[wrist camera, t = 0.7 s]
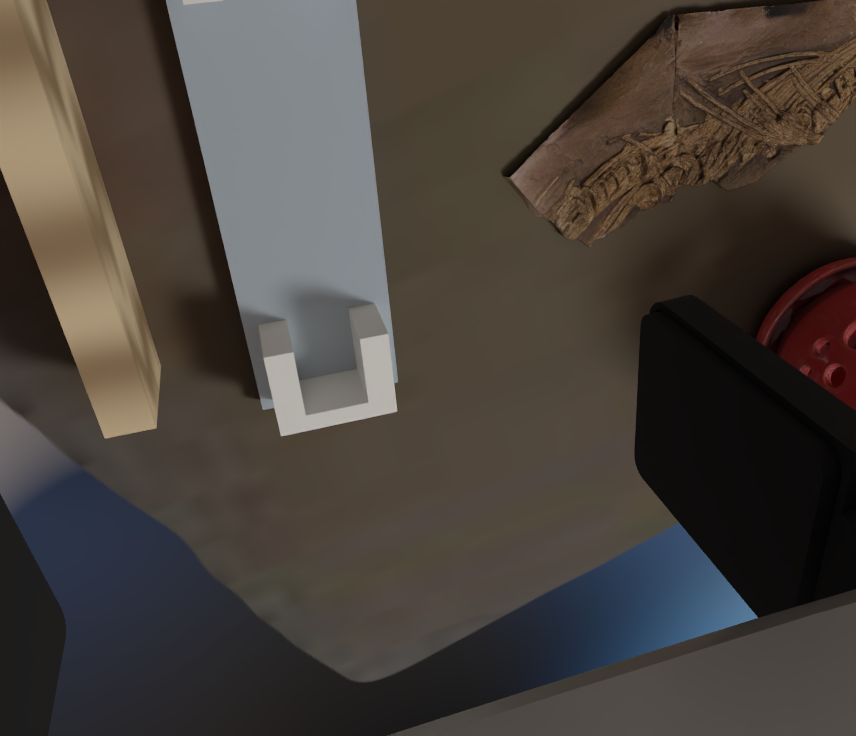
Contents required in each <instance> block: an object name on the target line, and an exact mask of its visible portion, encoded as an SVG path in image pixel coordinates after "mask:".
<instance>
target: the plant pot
mask: <svg viewBox="0 0 856 736" xmlns="http://www.w3.org/2000/svg"><path fill="white" fill-rule="evenodd" d="M756 340H757V341H759V342H760V343H761V344H763V345H764V346H766V347H767V348H768V349H770V350H771V351H773V352H774V353H775V354H777V355H778V356H780V357H781V358H782V359H784V360H785V361H787V362H788V363H789V364H791V365H792V366H794V367H795V368H796V369H798V370H799V371H801V372H802V373H803V374H805V375H806V376H808V377H809V378H810V379H812V380H813V381H815V382H816V383H817V384H819V385H820V386H822V387H823V388H824V389H826V390H827V391H829V392H830V393H831V394H833V395H834V396H836V397H837V398H838V399H840V400H841V401H843V402H844V403H845V404H847V405H848V406H850V407H851V408H852V409H854V410H855V411H856V257H853V258H847V259H842V260H838V261H835V262H832V263H829V264H827V265H824V266H822V267H820V268H818V269H816V270H814V271H813V272H811V273H809V274H808V275H806V276H805V277H803V278H802V279H800V280H799V281H798V282H796V283H795V284H794V285H793V286H791V287H790V288H789V289H788V290H787V291H786V292H785V293H784V294H783V295H782V296H781V297H780V298H779V299H778V301H777V302H776V303H775V304H774V306H773V307H772V308H771V310H770V311H769V312H768V314H767V315H766V317H765V319H764V321H763V323H762V325H761V327H760V329H759V332H758V335H757V338H756Z"/></svg>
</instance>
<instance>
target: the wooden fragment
mask: <svg viewBox="0 0 856 736" xmlns="http://www.w3.org/2000/svg"><path fill="white" fill-rule="evenodd" d="M676 16H677V17H679V21H678V22H679V25H678V29H679V30H675V28H674V25H675V22H677V21H676V20H674V19H675V15H674V14H673V15H670V16H668V17H667V18H666V20H665V21H664V22H663V23H662V24H661V25H660V27H659V29H658V30H657V33H656V34H654V35H653V36H652V37H650V38H649V39H648V40H647V41H646V42H645V43H644V44H643V45H642V46H641V47H640V48H639V49H638V51H637V52H636V53H634V54H633V55H632V56H631V58H629V59H628V60H627V61H626V62H625V63H624V64H623V65H622V66H621V67H620V68H619V69H618V70H617V71H616V72H615V73H614V74H613V75H612V77H610V78H609V79H608V80H607V81H606V82H605V83H604V84H603V85H602V86H601V87H600V88H599V89H598V90H597V91H596V92H595V93H594V94H593V95H592V96H591V97H590V98H589V99H587V100H586V101H585V102H584V103H583V104H582V105H581V106H580V107H579V108H578V109H577V110H576V111H575V112H574V113H573V114H572V115H571V116H570V118H568V119H567V120H566V121H565V122H564V123H563V124H562V125H561V126H560V127H559V128H558V130H556V131H555V132H553V133H552V134H551V135H550V136H549V138H548V140H545V141H544V143H542V144H541V145H540V146H539V147H538V149H537V150H536V151H535V152H534V153H533V154H532V155H531V156H530V157H529V158H528V159H527V160H526V161H525V163H524V164H523V165H522V166H521V167H520V168H519V169H518V170H517V171H516V172H515V173H514V174H513V175H512V176H511V177H504V176H503V177H504V178H505V179H506V180H508V181H509V182H510V184H511V185H512V186H513V188H514V189H515V190H516V191H517V192H518V194H519V195H520V196H521V197H522V199H523V200H524V201H525V203H526V205H527V207H528V208H529V210H530V211H531V212H532V213H533V214H534V215H535V216H537V217H539V218H542V219H546V220H550V221H551V222H552V223H553V224H554V225H555V226H556V227H557V228H558V229H559V231H560V233H561V235H562V236H564V237H566V238H568V239H570V240H575V239H579V240H581V241H582V242H583V243H584V244H586V245H587V246H588V247H591V245H592V243H593V241H594V240H595V239H598V238H603V237H605V236H606V234H608V233H610V232H612V231H614V230H615V229H618V228H621V227H622V226H624V225H625V224H627V223H629V222H630V221H631V220H633V219H634V218H635V215H636V212H637V211H640V210H644V211H645V210H646V209H647V208H649V209H653V208H654V207H656V206H658V205H659V204H661V203H663V202H671V201H672V200H673V199H674V194H675V192H676V190H677V186H685V185H687V184H689V185H693V186H699V185H702V184H708V183H710V182H711V181H713V182H715V183H717V184H718V185H720V186H721V187H723V188H724V189H726V190H731V189H735V188H740V187H742V186H745V185H747V184H750V183H754V182H756V181H757V180H758V178H759V177H761V176H762V175H763V174H764V173H765V172H766V171H767V170H769V169H771V168H773V167H774V165H775V164H776V163H777V162H779V161H782V160H783V159H785V157H786V156H787V155H788V153H792V152H794V151H795V150H796V149H797V148H799V147H800V146H802V145H804V144H810V145H814V144H819V142H820V141H821V139H822V138H823V137H824V134H825V132H826V130H827V129H828V127H829V126H831V125H832V124H833V123H834V122H835V121H836V120H837V119H838V118H839V116H840V114H841V113H842V112H843V111H844V110H845V109H847V108H848V107H849V106H850V105H851V103H852V102H853V100H854V99H855V97H856V0H823V1H812V2H803V3H796V4H786V5H774V6H761V7H750V8H739V9H729V10H725V11H717V12H714V11H713V12H712V13H711V12H697V13H688V14H679V15H676Z"/></svg>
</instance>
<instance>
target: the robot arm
mask: <svg viewBox="0 0 856 736" xmlns="http://www.w3.org/2000/svg"><path fill="white" fill-rule="evenodd" d="M634 454H635V462H636V466H637V469H638V471H639V473H640V475H641V477H642V478H643V479H644V481H645V482H646V483H647V484H648V485H649V487H650V488H651V489H652V490H653V492H654V493H655V494H656V495H657V496H658V498H659V499H660V500H661V501H662V502H663V504H664V505H665V506H666V507H667V508H668V510H669V511H670V512H671V513H672V514H673V516H674V517H675V518H676V519H677V520H678V522H679V523H680V524H681V525H682V526H683V528H684V529H685V530H686V531H687V532H688V534H689V535H690V536H691V537H692V538H693V540H694V541H695V542H696V543H697V544H698V546H699V547H700V548H701V549H702V550H703V552H704V553H705V554H706V555H707V556H708V558H710V560H711V561H712V562H713V564H714V565H715V566H716V567H717V569H718V570H719V571H720V572H721V573H722V575H723V576H724V577H725V578H726V579H727V581H728V582H729V583H730V584H731V585H732V586H733V588H734V589H735V590H736V591H737V593H738V594H739V595H740V596H741V597H742V599H743V600H744V601H745V602H746V603H747V605H748V606H749V607H750V608H751V609H752V611H753V612H754V613H755V614H756V615H757V617H758V618H757V619H754V620H750V621H747V622H744V623H741V624H738V625H735V626H732V627H728V628H725V629H722V630H719V631H715V632H712V633H709V634H706V635H703V636H699V637H696V638H693V639H690V640H687V641H684V642H680V643H677V644H674V645H671V646H668V647H664V648H661V649H658V650H655V651H652V652H649V653H645V654H642V655H639V656H636V657H633V658H630V659H626V660H623V661H620V662H617V663H614V664H610V665H607V666H604V667H601V668H598V669H594V670H591V671H588V672H585V673H582V674H579V675H575V676H573V677H569V678H566V679H563V680H560V681H557V682H554V683H550V684H547V685H544V686H541V687H538V688H535V689H532V690H528V691H526V692H522V693H519V694H516V695H513V696H510V697H507V698H503V699H500V700H497V701H494V702H491V703H488V704H485V705H482V706H479V707H475V708H472V709H469V710H466V711H463V712H460V713H456V714H453V715H450V716H447V717H444V718H441V719H438V720H435V721H432V722H429V723H425V724H422V725H419V726H416V727H413V728H410V729H407V730H404V731H400V732H398V733H394V734H391V735H388V736H856V411H855V410H854V409H852V408H851V407H850V406H848V405H847V404H845V403H844V402H843V401H841V400H840V399H838V398H837V397H836V396H834V395H833V394H831V393H830V392H829V391H827V390H826V389H824V388H823V387H822V386H820V385H819V384H817V383H816V382H815V381H813V380H812V379H810V378H809V377H808V376H806V375H805V374H803V373H802V372H801V371H799V370H798V369H796V368H795V367H794V366H792V365H791V364H789V363H788V362H787V361H785V360H784V359H782V358H781V357H780V356H778V355H777V354H775V353H774V352H773V351H771V350H770V349H768V348H767V347H766V346H764V345H763V344H761V343H760V342H759V341H757V340H756V339H754V338H753V337H752V336H750V335H749V334H747V333H746V332H745V331H743V330H742V329H740V328H739V327H738V326H736V325H735V324H733V323H732V322H731V321H729V320H728V319H726V318H725V317H724V316H722V315H721V314H719V313H718V312H717V311H715V310H714V309H712V308H711V307H710V306H708V305H707V304H705V303H704V302H703V301H701V300H700V299H698V298H697V297H695V296H693V295H688V296H683V297H679V298H675V299H670V300H666V301H662V302H658V303H655V304H654V305H653V306H652V308H651V310H650V314H648V315H645V316H644V317H643V319H642V321H641V329H640V350H639V370H638V391H637V411H636V432H635V453H634ZM65 637H66V624H65V618H64V615H63V612H62V609H61V607H60V606H59V603H58V601H57V600H56V598H55V596H54V594H53V592H52V590H51V588H50V587H49V585H48V583H47V581H46V579H45V577H44V575H43V573H42V571H41V570H40V568H39V566H38V564H37V562H36V560H35V558H34V556H33V555H32V553H31V551H30V549H29V547H28V546H27V543H26V542H25V540H24V538H23V536H22V534H21V532H20V530H19V528H18V526H17V525H16V523H15V521H14V519H13V517H12V515H11V513H10V512H9V510H8V508H7V506H6V504H5V502H4V500H3V498H2V496H1V495H0V736H48V732H49V726H50V721H51V715H52V709H53V704H54V699H55V693H56V687H57V681H58V677H59V671H60V665H61V660H62V654H63V649H64V644H65Z"/></svg>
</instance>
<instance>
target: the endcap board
mask: <svg viewBox="0 0 856 736" xmlns="http://www.w3.org/2000/svg"><path fill="white" fill-rule="evenodd" d="M166 4H167V8H168V12H169V16H170V21H171V25H172V29H173V33H174V37H175V42H176V46H177V50H178V54H179V59H180V63H181V67H182V71H183V75H184V80H185V84H186V88H187V92H188V97H189V101H190V105H191V109H192V113H193V118H194V122H195V126H196V130H197V134H198V139H199V143H200V147H201V151H202V156H203V160H204V164H205V168H206V172H207V177H208V181H209V185H210V189H211V193H212V198H213V202H214V206H215V210H216V215H217V219H218V223H219V227H220V231H221V236H222V240H223V244H224V248H225V252H226V257H227V261H228V265H229V269H230V274H231V278H232V282H233V286H234V290H235V295H236V299H237V303H238V307H239V311H240V316H241V320H242V324H243V328H244V333H245V337H246V341H247V345H248V349H249V354H250V358H251V362H252V366H253V370H254V375H255V379H256V383H257V387H258V392H259V396H260V400H261V404H262V408H263V410H265V409H270V408H275V412H276V416H277V421H278V425H279V429H280V434H281V436H285V435H290V434H295V433H299V432H304V431H309V430H313V429H318V428H323V427H327V426H332V425H337V424H341V423H346V422H351V421H356V420H360V419H365V418H370V417H374V416H379V415H384V414H388V413H393V412H397V405H396V396H395V387H394V383H396V382H398V378H397V369H396V360H395V350H394V341H393V332H392V323H391V314H390V305H389V296H388V287H387V278H386V269H385V260H384V251H383V241H382V232H381V223H380V214H379V205H378V196H377V187H376V178H375V169H374V160H373V151H372V142H371V133H370V123H369V114H368V105H367V96H366V87H365V78H364V69H363V60H362V51H361V42H360V33H359V24H358V15H357V5H356V0H166Z"/></svg>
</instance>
